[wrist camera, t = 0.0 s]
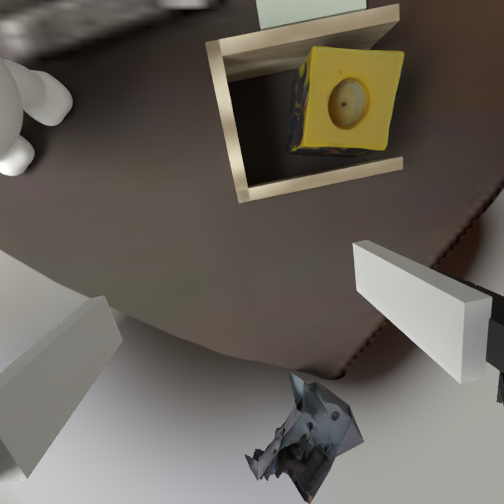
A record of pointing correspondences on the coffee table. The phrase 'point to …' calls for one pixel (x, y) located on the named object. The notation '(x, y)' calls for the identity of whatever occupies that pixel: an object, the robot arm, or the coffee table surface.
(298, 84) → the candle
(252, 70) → the wooden u-shaped frame
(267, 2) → the felt mat
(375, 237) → the coffee table surface
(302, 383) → the crumpled grey paper
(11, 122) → the teddy bear
